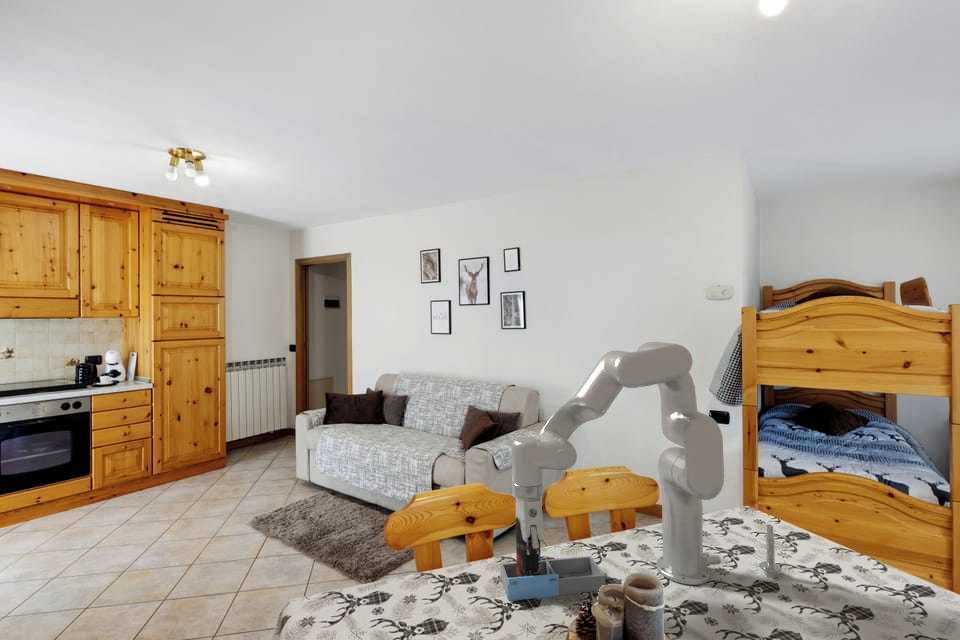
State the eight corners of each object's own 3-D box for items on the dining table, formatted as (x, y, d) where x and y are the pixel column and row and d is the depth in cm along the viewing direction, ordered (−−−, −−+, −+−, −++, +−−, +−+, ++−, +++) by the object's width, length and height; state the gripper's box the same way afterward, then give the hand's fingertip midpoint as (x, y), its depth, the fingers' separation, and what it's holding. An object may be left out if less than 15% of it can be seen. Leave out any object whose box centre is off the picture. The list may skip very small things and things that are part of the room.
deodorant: (540, 588, 107) (539, 525, 107) (515, 586, 108) (514, 523, 108) (541, 574, 113) (540, 515, 113) (518, 572, 114) (517, 513, 114)
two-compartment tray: (590, 569, 117) (590, 550, 117) (606, 591, 108) (606, 570, 108) (500, 577, 114) (500, 557, 114) (508, 600, 104) (508, 579, 105)
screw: (760, 568, 117) (782, 574, 115) (758, 576, 114) (781, 583, 111) (759, 518, 118) (781, 523, 115) (758, 525, 114) (781, 530, 111)
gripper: (552, 501, 103) (553, 580, 102) (533, 476, 120) (534, 544, 119) (520, 503, 102) (521, 584, 101) (505, 478, 119) (506, 546, 118)
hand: (528, 561), depth 110 cm, fingers closed on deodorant, 5 cm apart
